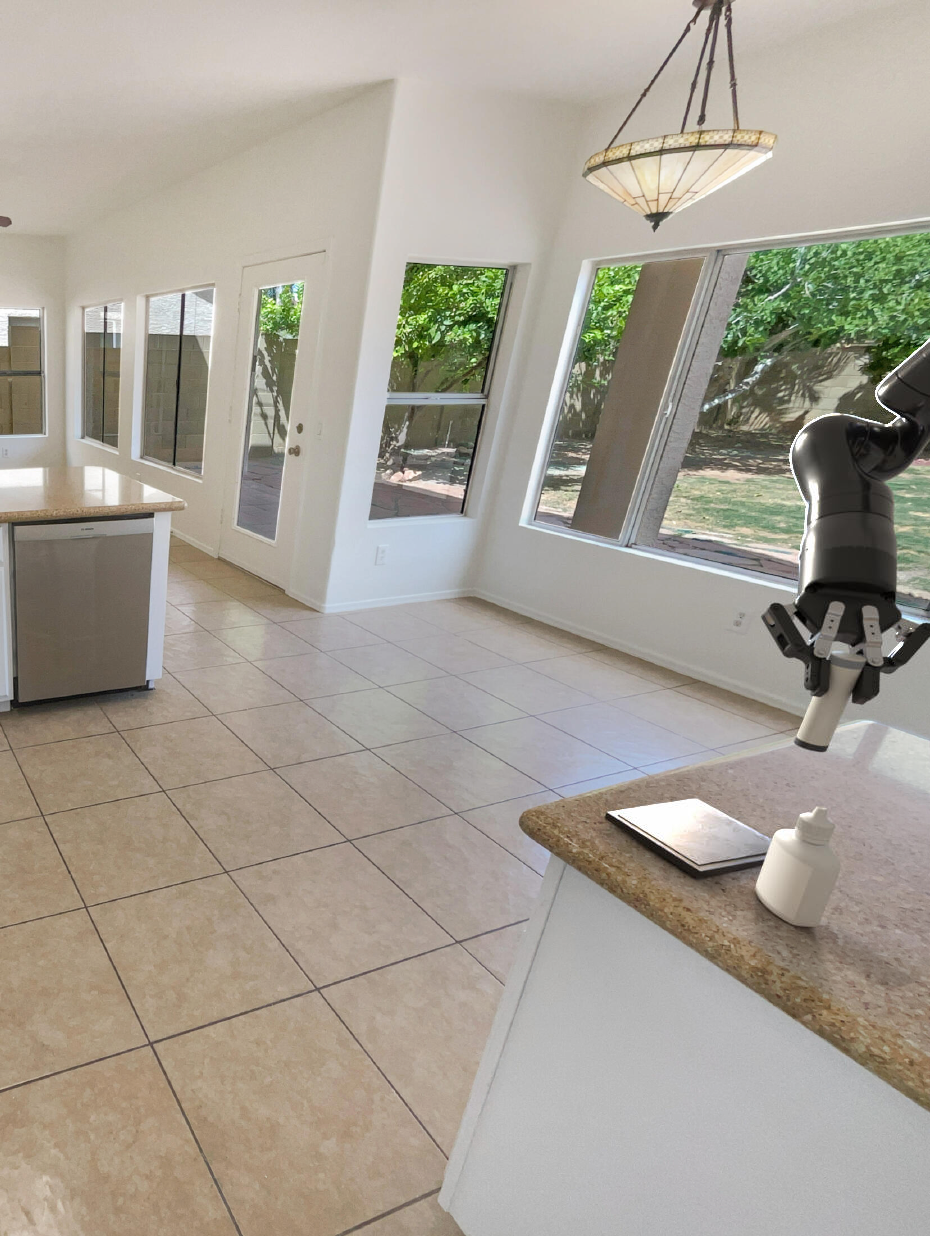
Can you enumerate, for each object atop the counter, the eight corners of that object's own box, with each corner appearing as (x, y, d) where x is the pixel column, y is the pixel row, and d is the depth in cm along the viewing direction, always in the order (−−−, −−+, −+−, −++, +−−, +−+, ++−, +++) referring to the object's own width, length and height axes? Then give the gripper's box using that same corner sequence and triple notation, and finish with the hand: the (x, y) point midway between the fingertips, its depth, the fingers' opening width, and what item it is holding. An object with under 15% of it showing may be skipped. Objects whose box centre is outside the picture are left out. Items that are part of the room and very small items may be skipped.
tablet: (693, 804, 87) (696, 797, 87) (795, 861, 77) (798, 852, 77) (604, 818, 84) (606, 811, 84) (697, 879, 74) (700, 870, 74)
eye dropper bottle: (757, 916, 69) (793, 814, 65) (752, 884, 73) (786, 787, 69) (819, 935, 67) (861, 830, 62) (810, 901, 71) (849, 801, 67)
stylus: (805, 739, 79) (842, 650, 75) (832, 751, 77) (873, 659, 73) (787, 741, 79) (824, 652, 75) (815, 753, 76) (855, 661, 72)
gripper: (779, 535, 79) (768, 668, 74) (957, 552, 73) (960, 700, 67) (752, 570, 86) (740, 695, 80) (914, 589, 79) (913, 727, 73)
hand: (840, 697), depth 74 cm, fingers closed on stylus, 2 cm apart
